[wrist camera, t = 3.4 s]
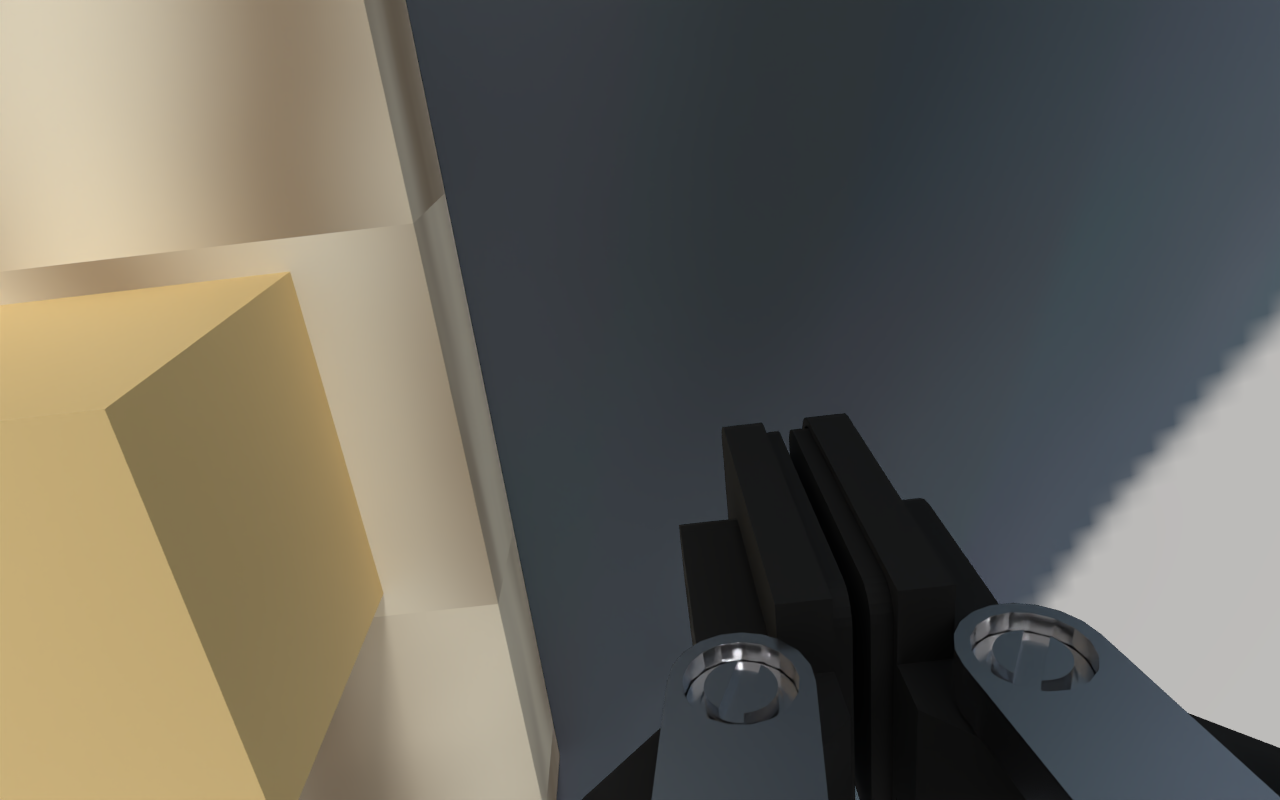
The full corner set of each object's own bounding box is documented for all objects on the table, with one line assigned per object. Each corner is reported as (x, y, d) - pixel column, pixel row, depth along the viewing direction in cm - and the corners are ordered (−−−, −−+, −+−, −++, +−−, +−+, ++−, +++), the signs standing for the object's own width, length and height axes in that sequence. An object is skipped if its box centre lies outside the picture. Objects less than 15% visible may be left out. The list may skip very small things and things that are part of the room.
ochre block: (289, 271, 13) (104, 409, 8) (383, 593, 15) (282, 840, 10) (-97, 316, 13) (-497, 477, 8) (58, 628, 15) (-182, 886, 11)
